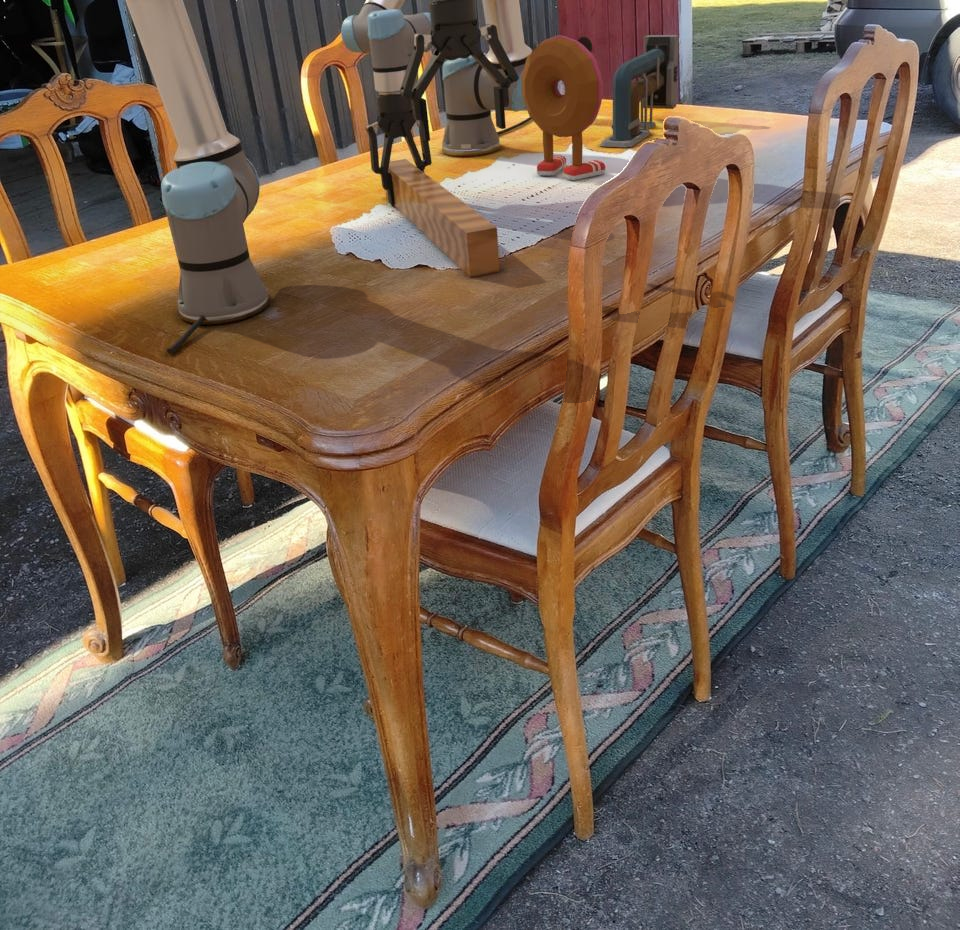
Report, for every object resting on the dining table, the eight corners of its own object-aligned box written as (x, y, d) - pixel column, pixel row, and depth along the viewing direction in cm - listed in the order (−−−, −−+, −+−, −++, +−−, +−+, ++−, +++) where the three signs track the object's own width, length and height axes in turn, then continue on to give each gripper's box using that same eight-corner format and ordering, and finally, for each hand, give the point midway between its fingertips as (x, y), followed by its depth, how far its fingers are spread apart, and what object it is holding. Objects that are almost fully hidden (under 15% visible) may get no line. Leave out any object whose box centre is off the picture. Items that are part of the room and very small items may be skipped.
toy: (617, 173, 223) (617, 32, 207) (590, 184, 216) (588, 39, 201) (546, 163, 236) (541, 30, 220) (519, 173, 230) (511, 36, 214)
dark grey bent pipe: (630, 147, 243) (630, 56, 233) (598, 146, 247) (597, 56, 236) (676, 118, 269) (678, 35, 258) (646, 117, 273) (647, 35, 262)
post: (499, 271, 172) (497, 227, 168) (470, 277, 171) (466, 232, 167) (409, 194, 221) (405, 158, 217) (386, 198, 220) (381, 162, 216)
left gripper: (516, -14, 161) (523, 119, 171) (370, 4, 155) (388, 140, 165) (532, -12, 154) (539, 126, 165) (382, 7, 148) (399, 148, 159)
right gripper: (430, 83, 208) (440, 190, 220) (346, 94, 204) (361, 204, 216) (440, 88, 202) (450, 198, 214) (354, 99, 198) (368, 212, 209)
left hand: (463, 133), depth 165 cm, fingers open, 13 cm apart
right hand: (405, 201), depth 215 cm, fingers closed on post, 6 cm apart
